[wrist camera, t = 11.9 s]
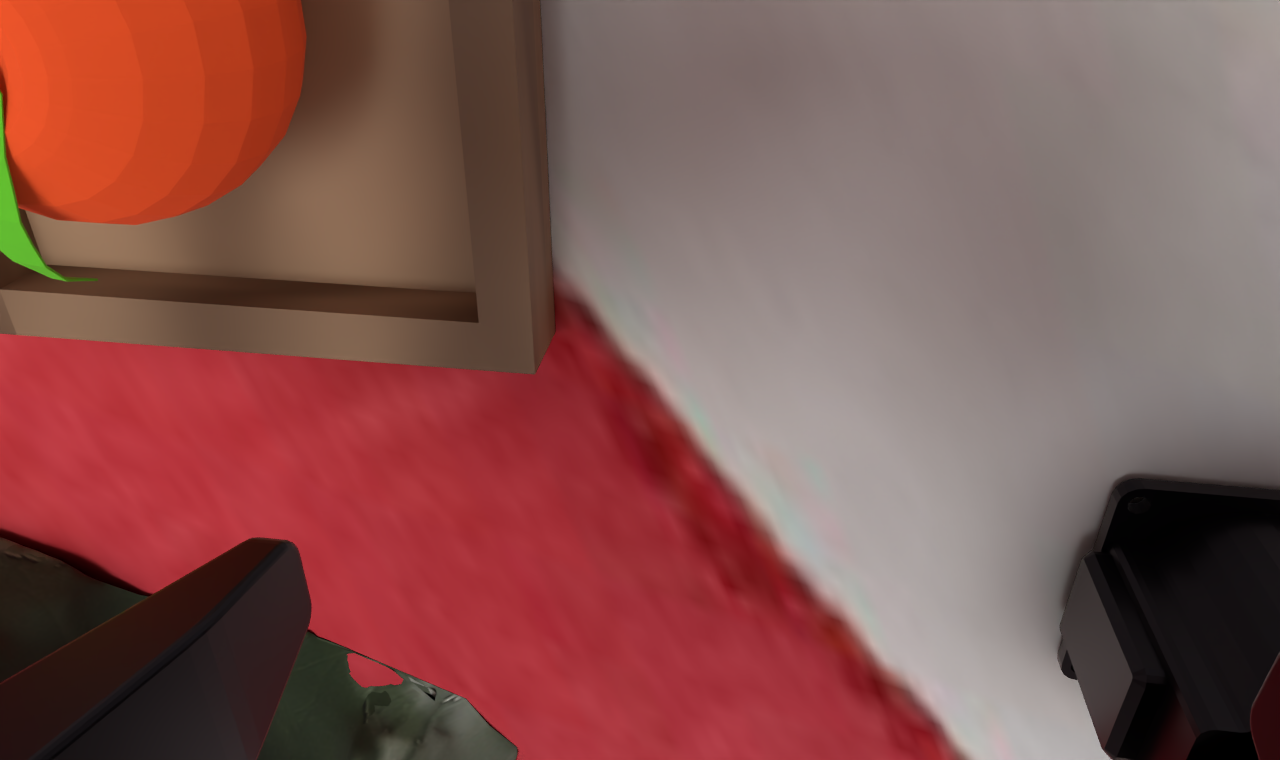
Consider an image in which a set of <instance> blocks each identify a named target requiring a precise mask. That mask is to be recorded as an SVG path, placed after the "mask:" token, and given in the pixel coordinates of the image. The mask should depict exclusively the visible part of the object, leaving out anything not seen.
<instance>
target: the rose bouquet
mask: <svg viewBox="0 0 1280 760" xmlns="http://www.w3.org/2000/svg"><path fill="white" fill-rule="evenodd" d="M147 597H149V596H143V595H139V594H136V593H133V592H130V591H127V590H124V589H121V588H118V587H115V586H112V585H109V584H106V583H104V582H101V581H98V580H96V579H93V578H91V577H89V576H87V575H85V574H83V573H81V572H80V571H79V570H77V569H75V568H74V567H72V566H70V565H68V564H66V563H64V562H63V561H61V560H58V559H56V558H53V557H51V556H48V555H46V554H43V553H41V552H39V551H37V550H34V549H31V548H28V547H25V546H22V545H20V544H17V543H15V542H12V541H10V540H8V539H5V538H1V537H0V683H1V682H3V681H4V680H6V679H8V678H10V677H11V676H13V675H15V674H17V673H18V672H20V671H22V670H23V669H25V668H27V667H29V666H30V665H32V664H34V663H36V662H37V661H39V660H41V659H42V658H44V657H46V656H48V655H49V654H51V653H53V652H54V651H56V650H58V649H60V648H61V647H63V646H65V645H67V644H68V643H70V642H72V641H73V640H75V639H77V638H79V637H80V636H82V635H84V634H85V633H87V632H89V631H91V630H92V629H94V628H96V627H98V626H99V625H101V624H103V623H104V622H106V621H108V620H110V619H111V618H113V617H115V616H116V615H118V614H120V613H122V612H123V611H125V610H127V609H129V608H130V607H132V606H134V605H135V604H137V603H139V602H141V601H142V600H144V599H146V598H147ZM349 653H355V654H358V655H360V656H363V657H365V658H367V659H370V660H372V661H375V660H373V659H371V658H368V657H366V656H364V655H361V654H359V653H357V652H354V651H352V650H350V649H347V648H345V647H343V646H340V645H338V644H335V643H333V642H330V641H328V640H325V639H322V638H319V637H316V636H315V635H314V634H312V633H310V632H308V631H307V632H306V635H305V637H304V640H303V642H302V645H301V648H300V650H299V653H298V655H297V658H296V660H295V663H294V666H293V668H292V671H291V673H290V676H289V679H288V681H287V684H286V686H285V689H284V691H283V694H282V697H281V699H280V702H279V704H278V707H277V710H276V712H275V715H274V717H273V720H272V722H271V725H270V728H269V730H268V733H267V735H266V738H265V741H264V743H263V746H262V748H261V751H260V753H259V755H258V758H257V760H516V757H517V747H516V746H515V745H513V744H512V743H511V742H510V741H508V740H507V739H506V738H504V737H503V736H502V735H501V734H499V733H498V732H497V731H496V730H494V729H493V728H492V727H491V726H489V725H488V723H487V722H486V721H485V720H484V719H483V718H482V717H481V716H480V714H479V713H478V712H477V711H476V710H475V709H474V708H473V706H472V705H471V704H470V703H469V702H468V701H467V700H466V699H465V698H463V697H460V696H458V695H456V694H453V693H451V692H448V691H446V690H444V689H441V688H439V687H437V686H434V685H432V684H430V683H427V682H425V681H423V680H420V679H418V678H415V677H413V676H411V675H408V674H406V673H404V672H401V671H399V670H397V669H394V668H392V667H390V666H387V665H385V664H383V663H380V662H378V661H375V662H377V663H379V664H381V665H384V666H386V667H388V668H390V669H392V670H393V671H395V672H396V673H397V674H398V675H399V676H400V677H401V678H403V679H404V680H403V682H402V684H399V685H392V684H390V685H386V686H370V687H368V688H364V687H361V686H360V685H359V684H358V683H357V682H356V681H355V680H354V679H353V678H352V677H351V675H350V674H349V673H350V672H351V671H350V669H349V665H348V661H347V654H349Z"/></svg>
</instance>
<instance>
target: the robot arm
mask: <svg viewBox="0 0 1280 760" xmlns="http://www.w3.org/2000/svg"><path fill="white" fill-rule="evenodd" d="M1136 497H1144V498H1143V500H1142V501H1140V502H1138V503H1133V504H1130V503H1129V502H1130V501H1131V500H1132V499H1134V498H1136ZM310 618H311V599H310V595H309V591H308V586H307V582H306V578H305V574H304V570H303V566H302V561H301V557H300V553H299V551H298V548H297V547H296V546H295V544H294V543H293V542H290V541H288V540H280V539H270V538H260V537H258V538H251V539H248V540H246V541H244V542H242V543H240V544H239V545H237V546H235V547H234V548H232V549H230V550H228V551H227V552H225V553H223V554H222V555H220V556H218V557H216V558H215V559H213V560H211V561H209V562H208V563H206V564H204V565H203V566H201V567H199V568H197V569H196V570H194V571H192V572H191V573H189V574H187V575H185V576H184V577H182V578H180V579H178V580H177V581H175V582H173V583H172V584H170V585H168V586H166V587H165V588H163V589H161V590H160V591H158V592H156V593H154V594H153V595H151V596H149V597H147V598H146V599H144V600H142V601H141V602H139V603H137V604H135V605H134V606H132V607H130V608H129V609H127V610H125V611H123V612H122V613H120V614H118V615H116V616H115V617H113V618H111V619H110V620H108V621H106V622H104V623H103V624H101V625H99V626H98V627H96V628H94V629H92V630H91V631H89V632H87V633H85V634H84V635H82V636H80V637H79V638H77V639H75V640H73V641H72V642H70V643H68V644H67V645H65V646H63V647H61V648H60V649H58V650H56V651H54V652H53V653H51V654H49V655H48V656H46V657H44V658H42V659H41V660H39V661H37V662H36V663H34V664H32V665H30V666H29V667H27V668H25V669H23V670H22V671H20V672H18V673H17V674H15V675H13V676H11V677H10V678H8V679H6V680H4V681H3V682H1V683H0V760H257V758H258V755H259V753H260V751H261V748H262V746H263V743H264V741H265V738H266V735H267V733H268V730H269V728H270V725H271V722H272V720H273V717H274V715H275V712H276V710H277V707H278V704H279V702H280V699H281V697H282V694H283V691H284V689H285V686H286V684H287V681H288V679H289V676H290V673H291V671H292V668H293V666H294V663H295V660H296V658H297V655H298V653H299V650H300V648H301V645H302V642H303V640H304V637H305V635H306V632H307V629H308V626H309V623H310ZM1060 631H1061V634H1062V637H1063V640H1062V643H1061V646H1060V649H1059V652H1058V662H1059V664H1060V667H1061V670H1062V672H1063V674H1064V675H1065V676H1067V677H1069V678H1071V679H1075V680H1078V682H1079V685H1080V688H1081V690H1082V693H1083V696H1084V699H1085V702H1086V705H1087V707H1088V710H1089V713H1090V716H1091V719H1092V722H1093V724H1094V727H1095V730H1096V733H1097V736H1098V739H1099V742H1100V744H1101V747H1102V749H1103V750H1104V752H1105V753H1106V754H1107V755H1108V756H1109V757H1110V758H1111V759H1112V760H1280V490H1269V489H1257V488H1245V487H1233V486H1221V485H1209V484H1197V483H1185V482H1173V481H1161V480H1149V479H1130V480H1127V481H1125V482H1122V483H1121V484H1120V485H1118V486H1117V487H1116V488H1115V490H1114V491H1113V493H1112V495H1111V498H1110V501H1109V504H1108V507H1107V510H1106V513H1105V516H1104V519H1103V522H1102V525H1101V528H1100V531H1099V534H1098V537H1097V539H1096V542H1095V545H1094V548H1093V551H1090V552H1089V553H1088V554H1087V555H1085V556H1084V557H1083V558H1082V560H1081V563H1080V566H1079V569H1078V572H1077V575H1076V578H1075V581H1074V584H1073V587H1072V590H1071V593H1070V596H1069V599H1068V602H1067V605H1066V608H1065V611H1064V614H1063V617H1062V620H1061V623H1060Z"/></svg>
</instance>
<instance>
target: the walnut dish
mask: <svg viewBox="0 0 1280 760" xmlns="http://www.w3.org/2000/svg"><path fill="white" fill-rule="evenodd" d="M301 4H302V11H303V17H304V23H305V29H306V36H307V39H306V51H305V63H304V75H303V83H302V88H301V94H300V98H299V100H298V103H297V106H296V108H295V111H294V114H293V116H292V119H291V121H290V124H289V127H288V129H287V132H286V135H285V136H284V137H283V139H282V140H281V141H280V142H279V144H278V145H277V146H276V147H275V149H274V150H273V151H272V152H271V153H270V155H269V156H268V157H267V158H266V160H265V161H264V162H263V163H262V165H261V166H260V167H259V168H258V169H257V170H256V171H255V172H254V173H253V174H252V175H251V176H250V177H249V178H248V179H247V180H246V181H245V182H244V183H243V184H242V185H240V186H239V187H237V188H235V189H234V190H232V191H231V192H229V193H227V194H226V195H224V196H222V197H221V198H219V199H217V200H216V201H214V202H212V203H211V204H209V205H207V206H205V207H202V208H199V209H196V210H193V211H190V212H187V213H184V214H181V215H178V216H175V217H171V218H166V219H161V220H157V221H152V222H148V223H143V224H139V225H125V224H106V223H90V222H76V221H62V220H55V219H52V218H49V217H46V216H42V215H39V214H36V213H33V212H30V211H27V210H24V209H21V208H19V212H20V217H21V221H22V223H23V225H24V227H25V229H26V231H27V233H28V235H29V237H30V239H31V241H32V243H33V244H34V246H35V248H36V249H37V251H38V252H39V254H40V256H41V257H42V259H43V260H44V262H45V263H46V265H47V266H48V267H50V268H51V269H53V270H55V271H56V272H58V273H59V274H61V275H62V276H64V277H79V278H97V279H98V281H73V282H67V281H62V280H57V279H52V278H50V277H47V276H45V275H43V274H41V273H38V272H36V271H34V270H32V269H29V268H27V267H25V266H22V265H20V264H18V263H16V262H13V261H12V260H11V259H10V258H8V257H7V256H6V255H5V254H4V253H3V252H1V251H0V334H13V335H27V336H40V337H53V338H66V339H79V340H92V341H105V342H118V343H131V344H144V345H157V346H170V347H183V348H197V349H210V350H223V351H236V352H249V353H262V354H275V355H288V356H301V357H314V358H327V359H340V360H354V361H367V362H380V363H393V364H406V365H419V366H432V367H445V368H458V369H471V370H484V371H497V372H511V373H524V374H535V373H536V371H537V369H538V367H539V365H540V363H541V361H542V359H543V357H544V355H545V353H546V350H547V348H548V346H549V344H550V342H551V340H552V338H553V336H554V334H555V313H554V291H553V269H552V247H551V226H550V204H549V182H548V160H547V139H546V117H545V95H544V73H543V52H542V30H541V8H540V0H301Z"/></svg>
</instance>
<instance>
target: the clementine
mask: <svg viewBox="0 0 1280 760" xmlns="http://www.w3.org/2000/svg"><path fill="white" fill-rule="evenodd" d="M306 39H307V36H306V29H305V23H304V17H303V11H302V4H301V0H0V251H1V252H3V253H4V254H5V255H6V256H7V257H8V258H10V259H11V260H12V261H13V262H16V263H18V264H20V265H22V266H25V267H27V268H29V269H32V270H34V271H36V272H38V273H41V274H43V275H45V276H47V277H50V278H52V279H57V280H62V281H67V282H73V281H98V279H97V278H79V277H64V276H62V275H61V274H59V273H58V272H56V271H55V270H53V269H51V268H50V267H48V266H47V265H46V263H45V262H44V260H43V259H42V257H41V256H40V254H39V252H38V251H37V249H36V248H35V246H34V244H33V243H32V241H31V239H30V237H29V235H28V233H27V231H26V229H25V227H24V225H23V223H22V221H21V217H20V212H19V208H21V209H24V210H27V211H30V212H33V213H36V214H39V215H42V216H46V217H49V218H52V219H55V220H62V221H76V222H90V223H106V224H125V225H139V224H143V223H148V222H152V221H157V220H161V219H166V218H171V217H175V216H178V215H181V214H184V213H187V212H190V211H193V210H196V209H199V208H202V207H205V206H207V205H209V204H211V203H212V202H214V201H216V200H217V199H219V198H221V197H222V196H224V195H226V194H227V193H229V192H231V191H232V190H234V189H235V188H237V187H239V186H240V185H242V184H243V183H244V182H245V181H246V180H247V179H248V178H249V177H250V176H251V175H252V174H253V173H254V172H255V171H256V170H257V169H258V168H259V167H260V166H261V165H262V163H263V162H264V161H265V160H266V158H267V157H268V156H269V155H270V153H271V152H272V151H273V150H274V149H275V147H276V146H277V145H278V144H279V142H280V141H281V140H282V139H283V137H284V136H285V135H286V132H287V129H288V127H289V124H290V121H291V119H292V116H293V114H294V111H295V108H296V106H297V103H298V100H299V98H300V94H301V88H302V83H303V75H304V63H305V51H306Z"/></svg>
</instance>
